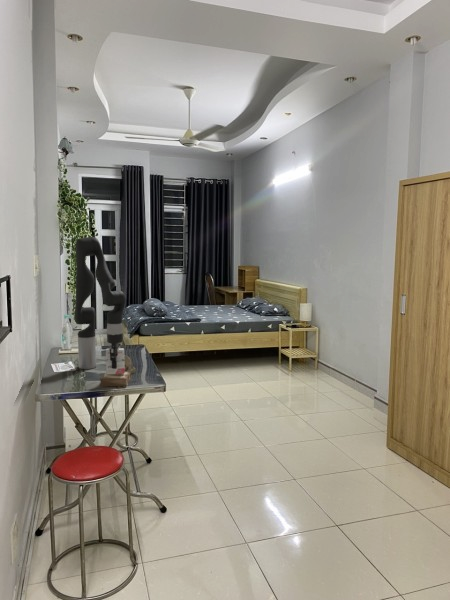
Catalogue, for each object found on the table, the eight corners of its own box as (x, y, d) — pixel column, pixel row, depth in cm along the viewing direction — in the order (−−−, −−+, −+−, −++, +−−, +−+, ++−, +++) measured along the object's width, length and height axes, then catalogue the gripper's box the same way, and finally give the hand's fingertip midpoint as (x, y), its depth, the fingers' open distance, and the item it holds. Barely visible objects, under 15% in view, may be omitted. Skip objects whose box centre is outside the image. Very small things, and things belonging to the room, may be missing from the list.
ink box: (124, 371, 228) (124, 347, 227) (124, 373, 223) (124, 349, 222) (106, 372, 226) (106, 348, 225) (106, 374, 222) (105, 350, 220)
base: (106, 379, 231) (106, 371, 231) (130, 379, 231) (130, 371, 231) (100, 386, 219) (100, 378, 219) (126, 386, 219) (126, 377, 219)
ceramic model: (109, 376, 237) (108, 357, 236) (106, 371, 247) (105, 353, 246) (136, 374, 242) (136, 355, 241) (132, 369, 252) (132, 351, 251)
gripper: (110, 330, 230) (111, 363, 232) (103, 335, 216) (104, 370, 217) (125, 330, 230) (126, 363, 232) (119, 335, 216) (120, 370, 218)
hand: (115, 366), depth 225 cm, fingers closed on ink box, 5 cm apart
